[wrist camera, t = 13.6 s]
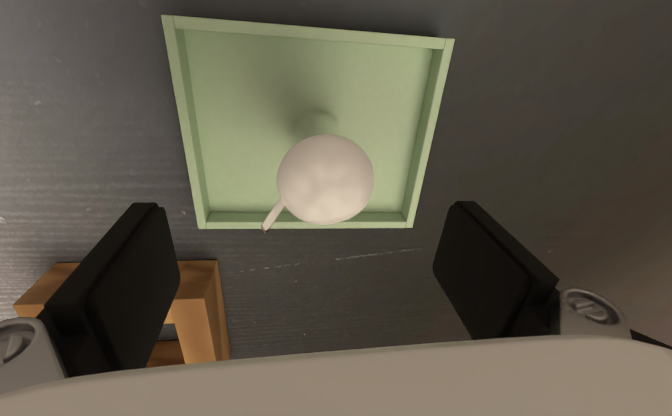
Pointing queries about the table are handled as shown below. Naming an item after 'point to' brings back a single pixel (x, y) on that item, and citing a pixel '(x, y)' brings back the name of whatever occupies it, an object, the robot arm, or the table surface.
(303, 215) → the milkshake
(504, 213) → the table surface
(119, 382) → the robot arm
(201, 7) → the table surface
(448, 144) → the table surface
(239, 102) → the tray
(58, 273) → the holder
